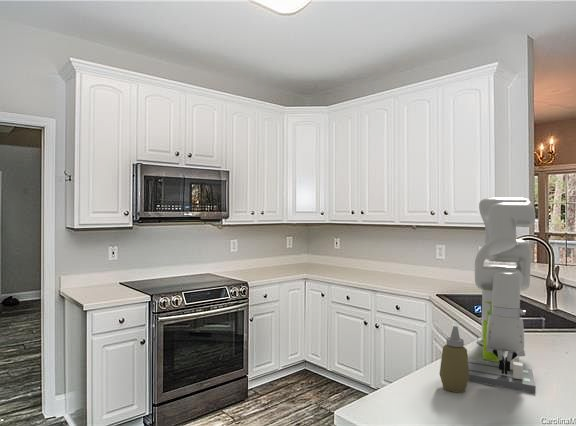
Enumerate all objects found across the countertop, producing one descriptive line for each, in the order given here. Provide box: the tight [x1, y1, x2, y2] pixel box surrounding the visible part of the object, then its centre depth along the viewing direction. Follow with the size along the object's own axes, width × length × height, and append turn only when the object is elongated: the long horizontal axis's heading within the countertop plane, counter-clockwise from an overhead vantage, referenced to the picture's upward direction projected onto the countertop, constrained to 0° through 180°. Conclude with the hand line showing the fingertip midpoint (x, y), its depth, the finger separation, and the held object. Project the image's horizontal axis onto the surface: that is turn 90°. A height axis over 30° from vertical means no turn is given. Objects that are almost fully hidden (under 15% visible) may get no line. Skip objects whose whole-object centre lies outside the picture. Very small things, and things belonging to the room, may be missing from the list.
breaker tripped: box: [513, 361, 524, 380], centre depth 126 cm, size 3×2×4 cm
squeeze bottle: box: [439, 325, 470, 393], centre depth 122 cm, size 8×8×18 cm
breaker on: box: [510, 357, 520, 370], centre depth 133 cm, size 3×2×4 cm
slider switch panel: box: [468, 358, 537, 394], centre depth 132 cm, size 16×22×2 cm
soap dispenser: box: [482, 301, 499, 362], centre depth 151 cm, size 6×7×20 cm
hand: (504, 372), depth 127 cm, fingers closed
